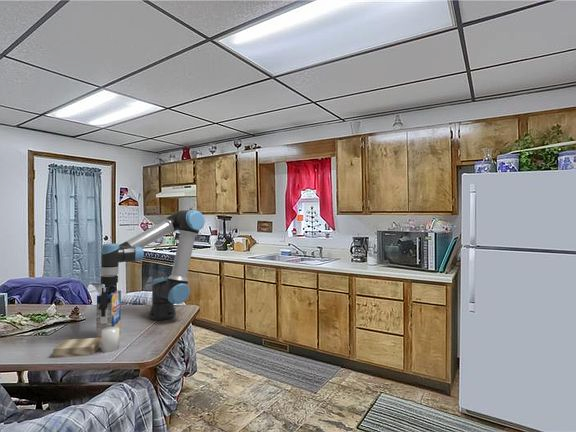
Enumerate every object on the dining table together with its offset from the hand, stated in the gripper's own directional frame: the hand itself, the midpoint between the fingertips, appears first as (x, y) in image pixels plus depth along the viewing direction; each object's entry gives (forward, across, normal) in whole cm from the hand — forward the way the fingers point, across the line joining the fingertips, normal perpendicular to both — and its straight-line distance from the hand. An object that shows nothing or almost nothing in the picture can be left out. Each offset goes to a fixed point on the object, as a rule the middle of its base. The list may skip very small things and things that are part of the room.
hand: (108, 319), depth 161 cm
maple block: (+10, +14, -8) cm, 19 cm away
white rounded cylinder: (+10, +15, +5) cm, 18 cm away
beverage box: (+10, 0, 0) cm, 10 cm away
